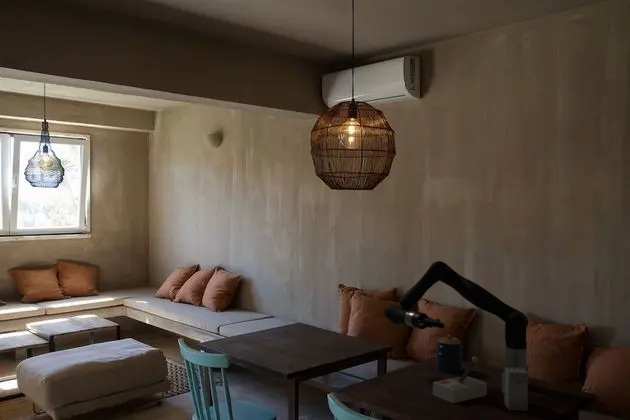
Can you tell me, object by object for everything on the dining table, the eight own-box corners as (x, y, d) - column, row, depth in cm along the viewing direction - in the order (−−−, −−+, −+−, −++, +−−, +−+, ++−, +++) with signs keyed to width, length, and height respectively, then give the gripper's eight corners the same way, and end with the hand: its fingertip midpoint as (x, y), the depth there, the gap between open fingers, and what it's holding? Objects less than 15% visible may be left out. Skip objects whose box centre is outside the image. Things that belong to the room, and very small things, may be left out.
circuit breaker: (518, 398, 244) (519, 363, 244) (527, 410, 230) (528, 373, 230) (500, 397, 245) (501, 362, 244) (508, 409, 230) (509, 372, 230)
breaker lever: (460, 378, 248) (476, 354, 241) (464, 383, 246) (480, 359, 239) (456, 379, 247) (472, 355, 239) (460, 384, 245) (476, 360, 237)
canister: (436, 372, 281) (436, 336, 281) (435, 365, 294) (435, 330, 294) (463, 374, 279) (464, 337, 279) (461, 366, 292) (461, 332, 291)
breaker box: (465, 387, 257) (466, 374, 257) (486, 395, 247) (486, 382, 247) (432, 394, 247) (433, 381, 247) (453, 403, 237) (453, 389, 237)
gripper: (405, 313, 267) (432, 319, 252) (426, 310, 274) (453, 316, 259) (405, 329, 267) (432, 336, 252) (426, 326, 274) (453, 332, 259)
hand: (443, 325), depth 256 cm, fingers closed
